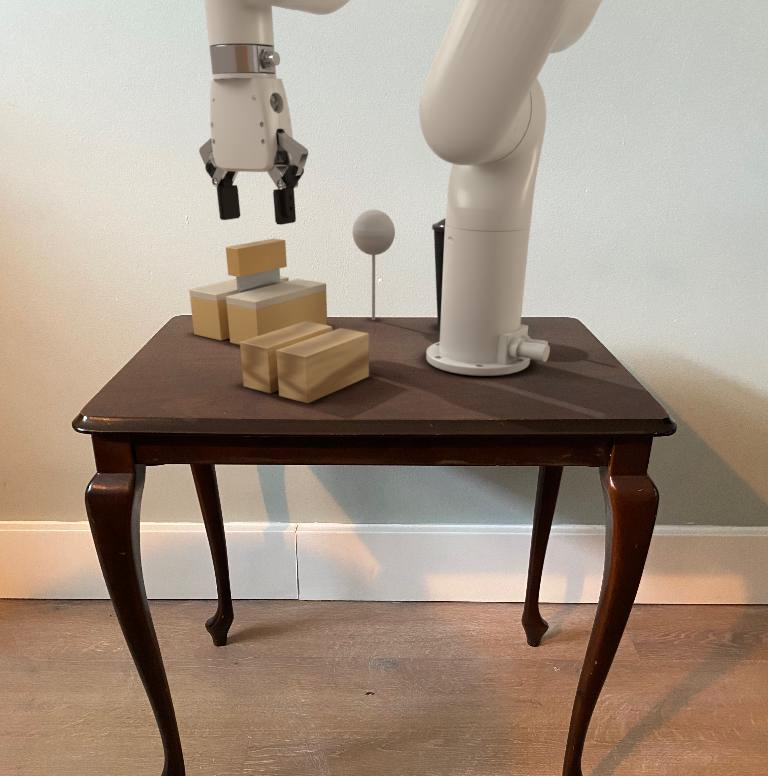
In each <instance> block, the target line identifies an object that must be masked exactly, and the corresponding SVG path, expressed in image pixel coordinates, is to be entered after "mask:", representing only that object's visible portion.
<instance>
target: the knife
mask: <svg viewBox="0 0 768 776" xmlns="http://www.w3.org/2000/svg"><path fill="white" fill-rule="evenodd" d="M286 245H287V244H286V239H280V238H268V239H264V240H263V239H262V240H259V241H258V240H257V241H252V242H251V241H250V242H245V243H241V244H236V245H229V246H225V255H226V266H227V275H228V276H230V277H235V279H236V281H237V293H242V292H246V291H250V290H254V289H258V288H262V287H266V286H270V285H274V284H278V283H280V276H281V269H283V268H287V267H288V264H287V263H288V262H287V247H286Z"/></svg>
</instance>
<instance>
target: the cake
mask: <svg viewBox="0 0 768 776" xmlns="http://www.w3.org/2000/svg"><path fill="white" fill-rule="evenodd" d="M188 293H189V301H190V309H191V320H192V326H193V334H194V335H196V336H200V337H204V338H209V339H213V340H217V341H220V342H221V341H225V340H228V339H229V342H230V344H234V345H238V346H240V342H241V341H245V340H248V339H251V338H254V337H257V336H260V335H264V334H267V333H270V332H273V331H276V330H279V329H283V328H286V327H289V326H292V325H295V324H299V323H302V322H305V321H307V322H313V323H318V324H323V325H328V304H327V302H328V300H327V299H328V298H327V283H326V282H321V281H314V280H309V279H301V278H295V279H291V280H290V278H289V276H283V275H280V283H278V284H274V285H270V286H266V287H262V288H258V289H254V290H250V291H246V292H242V293H237V281H236V278H234V279H230V280H229V279H228V280H225V281H220V282H216V283H212V284H208V285H203V286H198V287H194V288H190V289H188Z"/></svg>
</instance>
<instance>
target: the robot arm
mask: <svg viewBox="0 0 768 776" xmlns="http://www.w3.org/2000/svg"><path fill="white" fill-rule="evenodd" d="M350 1H351V0H204V9H205V17H206V18H205V19H206V30H207V39H208V46H209V57H210V58H209V59H210V66H211V74H212V80H210V89H209V120H210V122H209V124H210V138H209V139H208V140H207V141H206V142H205V143H203V144H202V145H201V146H200V148H198V149H199V150H198V151H199V152H198V153H199V155H200V157H201V160H202V163H203V164H204V169H205V172H206V173H207V174H208V176H209V177H210V179H211V183H212V186H213V187H216V195H217V204H218V212H219V213H218V214H219V219H220V220H221V221H229V220H236V219H240V218H241V208H240V197H239V189H238V188H239V187H238V185H237V184H234V183H235V180H236V178H237V176H238V173H239V172H245V173H248V172H249V173H266V172H267V174H268V175H269V177H270V179H271V180H272V181H273V183H274V184H275V186H276V188H277V189H275V188H274V189H273V190H272V191H273V192H272V195H273V208H274V222H275V223H276V225H279V226H280V225H281V226H283V225H288V224H294V223H296V221H297V216H296V215H297V214H296V201H295V200H296V198H295V189H296V188H299V187H298V186H299V181H300V180H301V178H302V177H303V175H304V172H305V168H304V167H306V163H307V161H308V160H307V159H308V156H309V150H308V149H307V147H305V146H304V145H303V144H301V143H300V142H299V141H297V140H296V139H294V134H293V128H292V127H293V125H292V120H291V113H290V106H289V102H288V97H287V92H286V89H285V85H284V82H283V79H282V78H277V76H278V75H277V66H279V65H280V63H281V57H280V54H279V53H278V51H276V49H275V34H274V20H273V7H275V8H276V7H277V8H280V9H281V8H282V9H285V10H286V9H287V10H290V11H299V12H304V13H307V14H311V15H312V14H313V15H318V16H327V15H329V14H333V13H335V12H337V11H338V10H340V9H342V8H343V7H344V6H346V5H347V4H348V3H349V2H350ZM602 1H603V0H458V2H457V5H456V7H455V10H454V12H453V14H452V17H451V19H450V21H449V23H448V25H447V29H446V31H445V33H444V35H443V38H442V40H441V42H440V44H439V47H438V49H437V52H436V54H435V56H434V59H433V61H432V63H431V65H430V67H429V70H428V73H427V75H426V78H425V81H424V83H423V86H422V91H421V95H420V101H419V110H418V112H419V113H418V115H419V116H418V118H419V126H420V130H421V134H422V136H423V138H424V141H425V142H426V144H427V146H428V147H429V149H430V150H431V151H432V152H433V153H434V154H435V155H436V156H437V157H438V158H439V159H441V160H443V161H445V162H446V163H449V164H451V168H450V174H449V180H448V185H447V194H446V203H445V217H444V218H445V236H444V258H443V280H442V302H441V324H440V329H439V341H438V342H435V343H433V344H430V346H428V347H427V349H426V353H425V356H426V357H425V358H426V361H427V363H428V364H430V365H431V366H433V367H434V368H436V369H437V370H441V371H444V372H446V373H447V372H448V373H450V374H451V373H452V374H458V375H463V376H472V377H473V376H474V377H475V376H476V377H495V376H497V377H498V376H505V375H511V374H515V373H518V372H522V371H523V370H525V369H526V368H528V367H529V365H530V363H531V360H532V361H537V362H541V363H546V362H547V361H548V359H549V356H550V352H551V348H550V347H551V346H550V345H549V342H548V341H547V340H543V339H534V338H531V337H530V335H528V334H529V333H528V332H529V325H527V324H522V313H523V302H524V292H525V285H526V284H525V283H526V272H527V265H528V264H527V262H528V253H529V242H530V232H531V225H532V217H533V216H532V215H533V207H534V199H535V198H534V196H535V189H536V181H537V177H538V176H537V175H538V169H539V164H540V160H541V154H542V150H543V149H542V148H543V144H544V139H545V132H546V124H547V102H546V97H545V93H544V90H543V87H542V85H541V83H540V81H539V80H538V77H539V75H540V73H541V70H543V67H544V65H545V64H546V61H547V59H548V57H549V56H550V54H557V53H561V52H563V51H565V50H567V49H569V48H570V47H572V46H573V45H574V44H576V43H577V42H578V41H580V39H581V38H582V37H583V36H584V35H585V33H586V32H587V30H588V28H589V27H590V25H591V24H592V22H593V19H594V18H595V16H596V14H597V12H598V10H599V8H600V6H601V4H602Z"/></svg>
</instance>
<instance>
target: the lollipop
mask: <svg viewBox="0 0 768 776" xmlns="http://www.w3.org/2000/svg"><path fill="white" fill-rule="evenodd" d="M395 229H396V228H395V224H394V222H393V220H392V218H390V216H389V215H388V214H387V213H386V212H384V211H382V210H379V209H369V210H365V211H363V212H362V213H361V214H359V215H358V216H357V217H356V219H355V221H354V223H353V226H352V231H351V232H352V238H353V241H354V244H355V246H356V247H357V249H359V250H360V251H361V252H363V253H364V254H366V255H369V256H371V321H376V256H378V255H381V254H384V253H385V252H387V251H388V250H389V249H390V247H391V246H392V244H393V243H394V240H395V235H396V230H395Z"/></svg>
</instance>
